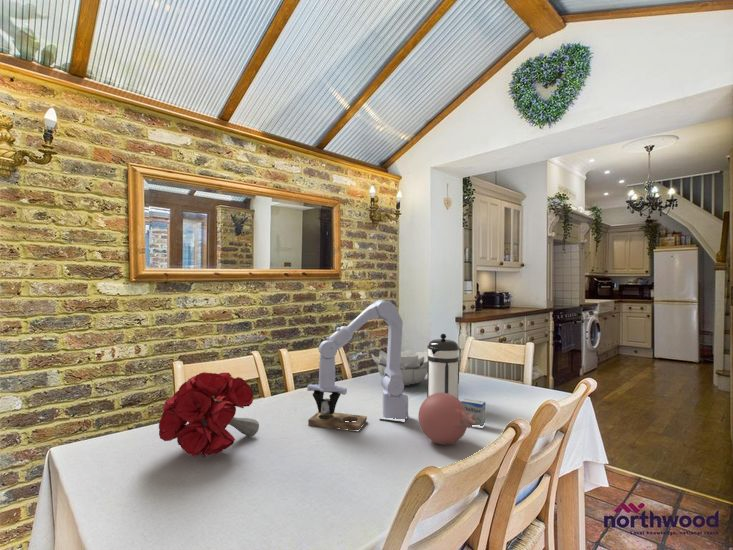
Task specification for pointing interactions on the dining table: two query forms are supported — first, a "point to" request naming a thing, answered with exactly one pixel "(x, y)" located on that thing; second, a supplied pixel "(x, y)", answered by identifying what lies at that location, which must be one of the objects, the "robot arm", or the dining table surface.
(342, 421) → the jig plate
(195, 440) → the bouquet
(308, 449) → the dining table surface
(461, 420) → the balloon
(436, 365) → the coffee press
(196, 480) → the dining table surface
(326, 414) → the bushing
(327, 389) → the robot arm
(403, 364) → the decorative bowl
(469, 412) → the medicine box
